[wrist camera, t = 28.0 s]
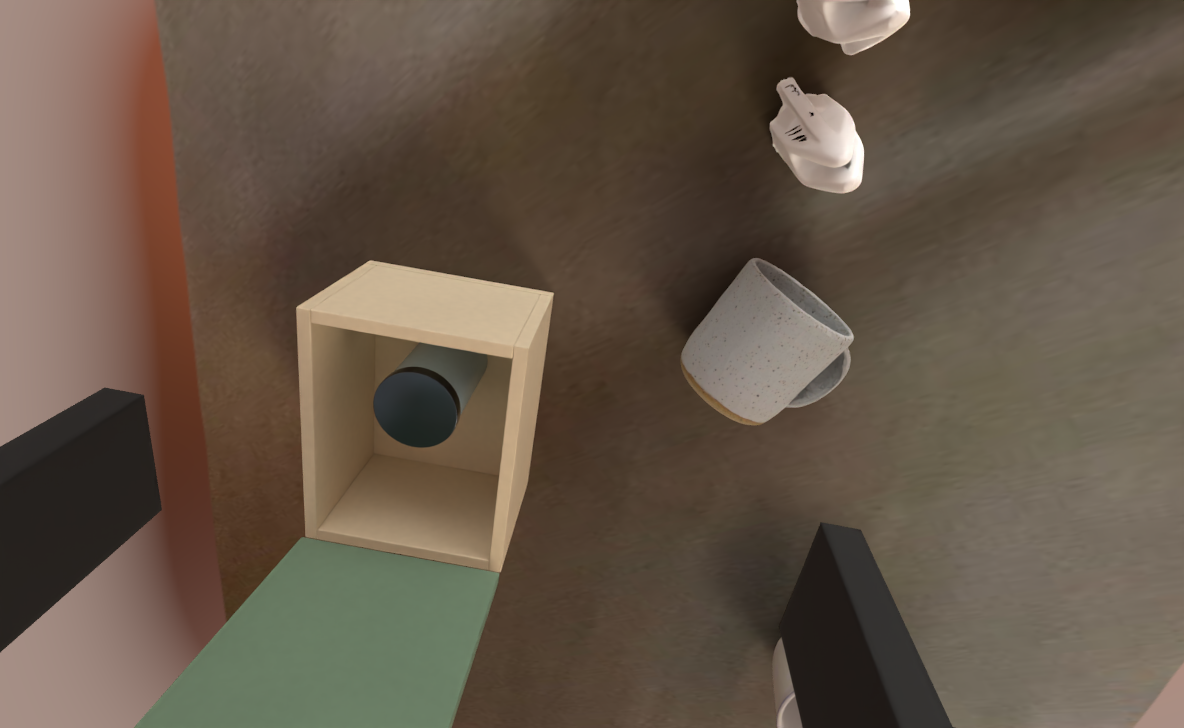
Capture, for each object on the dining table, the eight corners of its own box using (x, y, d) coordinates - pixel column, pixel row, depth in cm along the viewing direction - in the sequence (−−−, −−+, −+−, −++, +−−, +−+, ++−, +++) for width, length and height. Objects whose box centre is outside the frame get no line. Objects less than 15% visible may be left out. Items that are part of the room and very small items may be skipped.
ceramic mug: (668, 342, 43) (674, 394, 36) (743, 243, 40) (765, 278, 33) (791, 419, 45) (819, 482, 38) (872, 329, 42) (919, 381, 35)
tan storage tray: (369, 259, 42) (295, 306, 33) (553, 292, 42) (528, 348, 33) (367, 454, 49) (304, 537, 40) (527, 483, 49) (500, 572, 40)
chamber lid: (82, 784, 24) (100, 919, 26) (410, 845, 24) (396, 975, 26) (301, 536, 39) (299, 636, 42) (499, 572, 39) (486, 670, 42)
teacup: (895, 682, 54) (934, 775, 47) (766, 690, 56) (784, 781, 48) (894, 553, 49) (937, 636, 41) (751, 567, 50) (768, 649, 43)
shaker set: (798, -62, 33) (863, -126, 23) (879, -58, 33) (980, -121, 23) (760, 173, 38) (800, 205, 28) (830, 178, 38) (896, 212, 28)
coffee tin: (412, 324, 43) (364, 373, 36) (483, 321, 43) (449, 370, 35) (425, 390, 45) (382, 448, 38) (493, 387, 45) (463, 447, 37)
